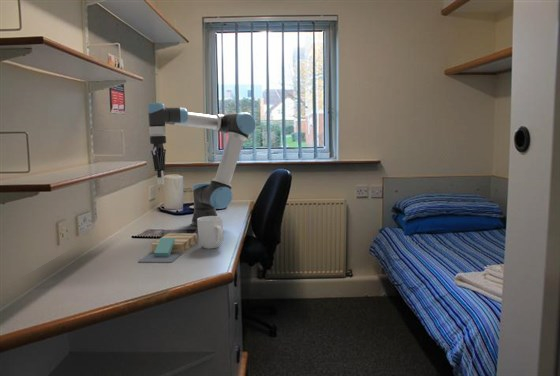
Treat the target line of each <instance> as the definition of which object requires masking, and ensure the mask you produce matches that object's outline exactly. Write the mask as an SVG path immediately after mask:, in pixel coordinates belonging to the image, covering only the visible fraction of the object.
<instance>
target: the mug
mask: <svg viewBox="0 0 560 376" xmlns="http://www.w3.org/2000/svg"><path fill="white" fill-rule="evenodd" d="M196 227H197V236H198V239H199V242H200V244H201V246H202V248H203V249H207V250H208V249H210V250H211V249H216V248H218V247H219V246H220V245H221V244H222V243H223V242H224V231H223V217H221V216H218V215H217V216H205V217H200V218H198V219H197V226H196Z"/></svg>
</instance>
